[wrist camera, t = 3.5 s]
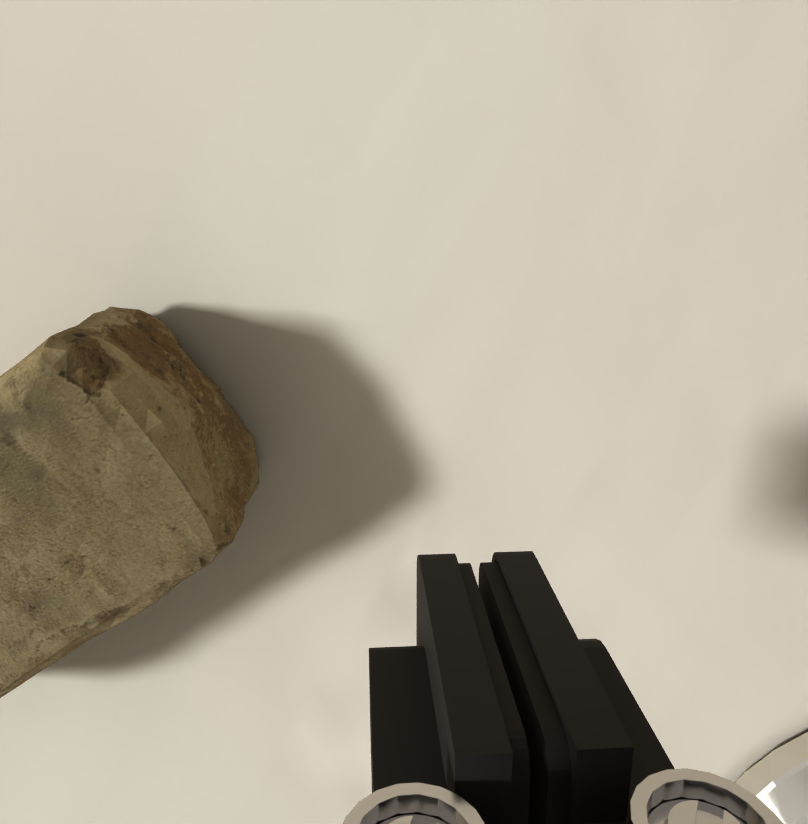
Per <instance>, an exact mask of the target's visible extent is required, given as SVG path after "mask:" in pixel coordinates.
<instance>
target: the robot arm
mask: <svg viewBox="0 0 808 824" xmlns="http://www.w3.org/2000/svg"><path fill="white" fill-rule="evenodd" d="M369 679H370V728H371V768H372V794H370V795H369V796H367V797H366V798H364V799H362V800H361V801H359V802H358V803H357V805H356V806H355V807H354V808H353V809H352V810H351V812H350V813H349V814H348V815H347V816H346V818H345V820H344V822H343V824H808V732H806V733H804V734H803V735H801V736H799V737H797V738H795V739H793V740H792V741H790V742H788V743H786V744H784V745H782V746H781V747H779V748H777V749H775V750H773V751H772V752H771V753H770V754H768V755H767V756H766V757H764V758H763V759H762V760H760V761H759V762H758V763H756V764H755V765H754V766H753V767H751V768H750V769H749V770H747V771H746V772H745V773H744V774H743V775H742V776H741V777H740V778H739V779H738V780H737V781H736V782H733V781H730V780H728V779H725V778H722V777H720V776H717V775H715V774H712V773H709V772H703V771H698V770H692V769H674V767H673V765H672V763H671V762H670V760H669V758H668V756H667V755H666V753H665V751H664V749H663V748H662V746H661V744H660V742H659V741H658V739H657V737H656V735H655V734H654V732H653V730H652V728H651V727H650V725H649V723H648V721H647V719H646V718H645V716H644V714H643V712H642V711H641V709H640V707H639V705H638V704H637V702H636V700H635V698H634V697H633V695H632V693H631V691H630V690H629V688H628V686H627V684H626V683H625V681H624V679H623V677H622V676H621V674H620V672H619V670H618V669H617V667H616V665H615V663H614V661H613V660H612V658H611V656H610V654H609V653H608V651H607V649H606V647H605V646H604V645H603V643H602V642H601V641H600V640H597V639H579V640H578V638H577V636H576V634H575V632H574V630H573V628H572V626H571V624H570V622H569V620H568V619H567V617H566V615H565V613H564V611H563V609H562V607H561V605H560V603H559V601H558V599H557V597H556V595H555V593H554V591H553V589H552V588H551V586H550V584H549V582H548V580H547V578H546V576H545V574H544V572H543V570H542V568H541V566H540V564H539V562H538V560H537V558H536V557H535V555H534V553H533V552H532V551H524V552H494V554H493V558H492V562H488V563H481V564H480V567H479V588H478V585H477V582H476V579H475V576H474V573H473V570H472V567H471V564H470V563H459V564H458V561H457V557H456V555H455V554H433V555H418V557H417V646H407V647H382V648H369Z"/></svg>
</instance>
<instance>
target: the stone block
mask: <svg viewBox="0 0 808 824" xmlns="http://www.w3.org/2000/svg"><path fill="white" fill-rule="evenodd" d="M258 483H259V465H258V460H257V455H256V450H255V446H254V441H253V438H252V436H251V435H250V433H249V432H248V430H247V429H246V427H245V426H244V424H243V423H242V421H241V420H240V419H239V417H238V416H237V414H236V413H235V411H234V410H233V409H232V408H231V407H230V406H229V405H228V404H227V403H226V401H225V400H224V398H223V395H222V393H221V390H220V388H219V387H218V386H217V385H216V384H215V383H214V382H213V381H212V380H211V379H210V378H209V377H207V376H206V375H205V374H204V373H203V372H201V371H200V370H199V369H198V368H197V367H196V365H195V364H194V363H193V361H192V360H191V359H190V358H189V357H188V355H187V354H186V353H185V352H184V351H183V350H182V348H181V346H180V343H179V341H178V339H177V338H176V336H175V335H174V334H173V333H172V332H171V331H170V330H169V329H168V328H167V327H166V326H165V325H164V324H163V323H162V322H161V321H160V320H159V319H158V318H156V317H154V316H152V315H150V314H148V313H145V312H143V311H141V310H135V309H125V308H116V307H109V308H108V309H107V310H105V311H102V312H98V313H94V314H92V315H91V316H90V317H88V318H87V319H86V320H84V321H83V322H82V323H80V324H79V325H77V326H76V327H72V328H69V329H67V330H64V331H62V332H59V333H57V334H55V335H53V336H51V337H49V338H48V339H47V340H46V341H45V342H43V343H42V344H41V345H40V346H39V347H37V348H36V349H35V350H34V351H33V352H32V353H30V354H29V355H28V356H27V357H25V358H24V359H23V360H22V361H20V362H19V363H18V364H16V365H15V366H14V367H12V368H11V369H9V370H8V371H7V372H5V373H4V374H3V375H1V376H0V698H1V697H2V696H4V695H6V694H7V693H9V692H10V691H12V690H13V689H15V688H16V687H18V686H19V685H21V684H22V683H24V682H25V681H27V680H28V679H30V678H31V677H33V676H34V675H36V674H37V673H38V672H40V671H41V670H43V669H44V668H46V667H48V666H49V665H51V664H52V663H54V662H56V661H57V660H59V659H60V658H62V657H64V656H65V655H67V654H68V653H70V652H71V651H72V650H74V649H75V648H77V647H78V646H80V645H81V644H83V643H84V642H86V641H87V640H89V639H91V638H93V637H95V636H97V635H99V634H100V633H102V632H104V631H106V630H108V629H110V628H112V627H114V626H115V625H117V624H119V623H121V622H123V621H125V620H127V619H129V618H130V617H132V616H134V615H135V614H137V613H139V612H140V611H142V610H143V609H145V608H147V607H148V606H150V605H151V604H153V603H154V602H156V601H157V600H158V599H159V598H161V597H162V596H163V595H164V594H166V593H167V592H168V591H169V590H171V589H172V588H173V587H174V586H176V585H177V584H178V583H180V582H181V581H183V580H184V579H186V578H187V577H189V576H191V575H192V574H194V573H195V572H197V571H199V570H200V569H202V568H204V567H205V566H207V565H209V564H210V563H211V562H212V561H213V560H214V558H215V557H216V556H217V554H218V553H220V552H221V551H222V550H223V549H224V548H226V547H227V546H228V545H229V544H231V543H232V541H233V539H234V537H235V535H236V533H237V531H238V529H239V527H240V525H241V523H242V521H243V517H244V507H245V505H246V504H247V502H248V501H249V499H250V497H251V495H252V493H253V492H254V491H255V489H256V488H257V485H258Z"/></svg>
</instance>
